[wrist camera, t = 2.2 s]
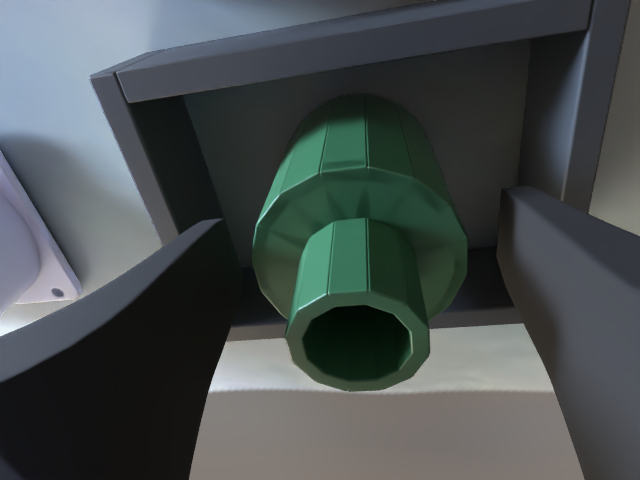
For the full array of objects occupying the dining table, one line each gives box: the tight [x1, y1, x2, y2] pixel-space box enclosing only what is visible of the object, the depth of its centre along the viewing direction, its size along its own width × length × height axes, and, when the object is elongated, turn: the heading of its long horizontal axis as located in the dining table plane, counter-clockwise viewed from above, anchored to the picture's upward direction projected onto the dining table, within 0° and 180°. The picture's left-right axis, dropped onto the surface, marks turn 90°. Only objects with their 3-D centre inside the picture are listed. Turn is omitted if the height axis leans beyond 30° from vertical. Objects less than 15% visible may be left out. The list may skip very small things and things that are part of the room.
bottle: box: [251, 94, 468, 392], centre depth 11 cm, size 5×5×8 cm
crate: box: [89, 0, 631, 341], centre depth 14 cm, size 13×10×4 cm
